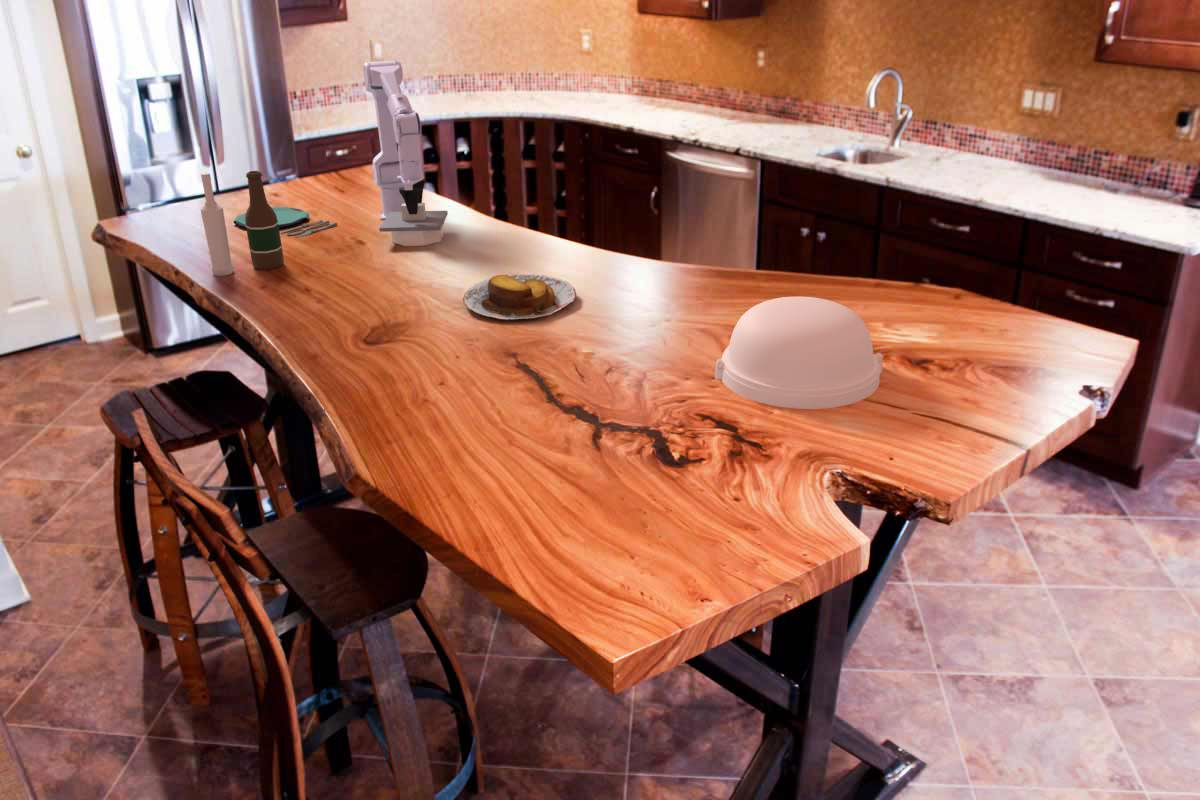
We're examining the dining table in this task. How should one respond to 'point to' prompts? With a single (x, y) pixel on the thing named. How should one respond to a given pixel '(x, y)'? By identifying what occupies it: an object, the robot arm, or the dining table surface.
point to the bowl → (417, 237)
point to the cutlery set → (290, 220)
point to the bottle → (215, 231)
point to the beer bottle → (262, 227)
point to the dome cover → (800, 355)
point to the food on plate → (519, 296)
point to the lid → (414, 220)
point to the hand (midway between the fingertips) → (415, 210)
